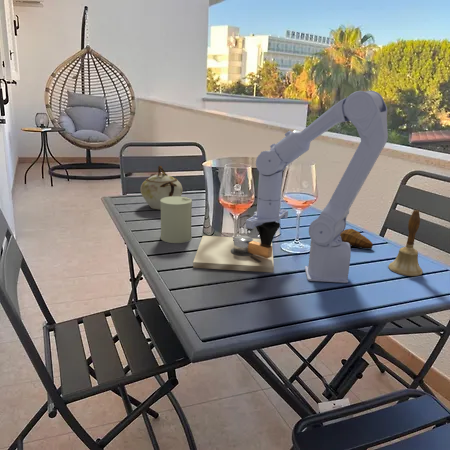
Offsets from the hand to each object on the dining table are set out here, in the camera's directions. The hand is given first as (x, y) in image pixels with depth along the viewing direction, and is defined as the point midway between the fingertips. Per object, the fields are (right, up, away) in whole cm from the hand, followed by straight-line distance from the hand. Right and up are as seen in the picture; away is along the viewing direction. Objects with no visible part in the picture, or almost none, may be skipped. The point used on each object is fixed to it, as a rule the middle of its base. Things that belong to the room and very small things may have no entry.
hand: (265, 248), depth 117 cm
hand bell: (+36, -5, -1) cm, 36 cm away
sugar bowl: (-34, +13, +47) cm, 59 cm away
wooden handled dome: (-3, -1, +1) cm, 4 cm away
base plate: (-8, -2, +4) cm, 9 cm away
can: (-25, +2, +16) cm, 30 cm away
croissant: (+26, 0, +16) cm, 31 cm away
